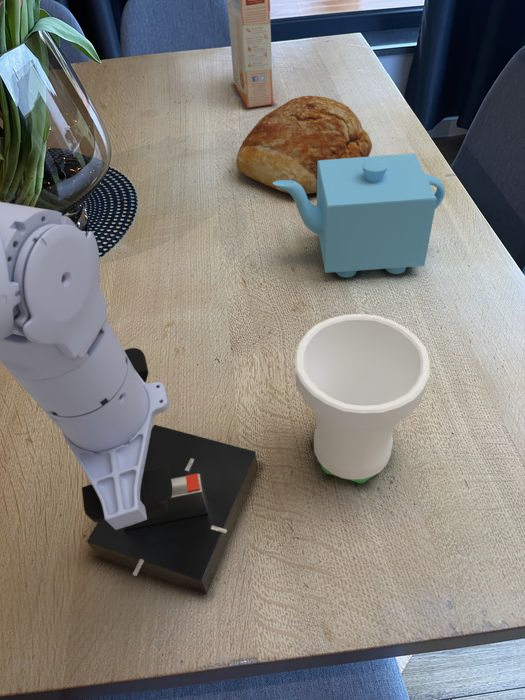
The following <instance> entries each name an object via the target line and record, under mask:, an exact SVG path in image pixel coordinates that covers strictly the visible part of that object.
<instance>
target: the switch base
mask: <svg viewBox="0 0 525 700" xmlns="http://www.w3.org/2000/svg"><path fill="white" fill-rule="evenodd" d="M165 464H168V467H169V472H170V476H171V479H173V478H178V477H184V476H187V475H192V474H200V475H201V479H202V483H203V487H204V490H205V494H206V499H207V507H208V514H203V515H198V516H193V517H188V518H183V519H178V520H173V521H168V522H163V523H158V524H153V525H148V526H144V527H139V528H134V529H129V530H124V529H123V528H120V529H117V530H115V529H114V528H113V527H112V526H111V525H110V524H109V523H108V522H107V521H106V520H104V521H100V522H96V523H95V524H96V525H95V526H94V528H93V530H92V532H91V533H90V535H89V537H88V538H87V540H86V543H87V544H88V546H89V548H90V549H91V550H92V552H93V553H94V555H95V556H96V557H98V558H102V559H104V560H107V561H109V562H112V563H116V564H119V565H121V566H125V567H127V568H130V569H133V570H134V571H133V572H132V576H134V577H137V576H138V575H139V572H142V573H145V574H148V575H150V576H152V577H155V578H158V579H162V580H164V581H167V582H170V583H173V584H176V585H179V586H181V587H184V588H188V589H190V590H193V591H195V592H199V593H202V594H205V595H207V594H208V592H209V590H210V588H211V585H212V583H213V580H214V577H215V575H216V572H217V570H218V566H219V564H220V562H221V560H222V558H223V555H224V552H225V550H226V547H227V546H228V543H229V540H230V537H231V535H232V532H233V530H234V528H235V525H236V523H237V520H238V518H239V515H240V513H241V511H242V509H243V508H242V507H243V505H244V503H245V500H246V498H247V495H248V493H249V490H250V489H251V488H250V487H251V486H252V483H253V481H254V478H255V475H256V473H257V471H258V460H257V451H255V450H250V449H248V448H245V447H244V448H243V447H240V446H236V445H232V444H228V443H225V442H222V441H218V440H214V439H211V438H207V437H202V436H199V435H195V434H191V433H187V432H184V431H181V430H176V429H172V428H168V427H165V426H161V425H157V424H153V425H152V430H151V435H150V440H149V445H148V450H147V456H146V461H145V466H144V471H146V470H149V469H152V468H155V467H158V466H162V465H165Z"/></svg>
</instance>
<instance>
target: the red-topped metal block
mask: <svg viewBox="0 0 525 700" xmlns="http://www.w3.org/2000/svg"><path fill="white" fill-rule="evenodd" d="M171 481H172V497H171V498H170V499H167V504H168V511H167V513H165V514H162V515H159V516H156V517H153V518H150V519H147V520H145V521H142V522H139V523H136V524H133V525H130V526H127V527H123V529H124V530H129V529H134V528H139V527H144V526H148V525H153V524H158V523H163V522H168V521H173V520H178V519H183V518H188V517H193V516H198V515H203V514H208V507H207V499H206V494H205V490H204V487H203V483H202V479H201V475H200V474H192V475H187V476H184V477H178V478H173V479H171Z"/></svg>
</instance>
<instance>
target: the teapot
mask: <svg viewBox="0 0 525 700" xmlns="http://www.w3.org/2000/svg"><path fill="white" fill-rule="evenodd" d="M273 184H274V185H275V186H277V187H280V188H282V189H285V190H286V191H287V192H289V193H288V194H290V196H291V197H292V198H293V201H294V204H295V205H296V208H297V211H298V214H299V216H300V219H301V221H302V223H303V224H304V226H305V227H306V228H307V229H308V231H311V232H312V233H314V234H316V235H317V236H318V240H319V247H320V251H321V257H322V262H323V268H324V273H325V274H327V273H336V275H338V276H339V277H340V278H351V277H354V276H355V275H356V274H357V272H358V271H368V270H369V271H370V270H384V269H385V270H386V272H388V273H390V274H392V275H393V274H394V275H399V274H403V273H405V271H406V269H407V268H412V267H414V268H415V267H424V266H425V264H426V258H427V254H428V249H429V243H430V238H431V232H432V227H433V221H434V217H435V212H436V209H438V207H439V206H440V205H441V203H442V202H443V200H444V198H445V193H446V188H445V186H444V183H443V181H441V179H440V178H439V177H437V176H436V175H433V174H430V173H429V174H428V173H426V174H425V171H424V169H423V167H422V165H421V163H420V160H419V158H418V156H417V154H416V153H402V154H388V155H387V154H386V155H371V156H368V157H357V158H344V159H331V160H320V161H318V162H317V193H316V205H315V204H313V203H311V201H310V200H309V198H308V194H306V193H305V191H304V189H303V187H302V186H301V185H300V184H298V183H297V182H295V181H291V180H279V181H275V182H273ZM432 186H433V187H434V188H436V190H435V192H434V190H433V188H432Z"/></svg>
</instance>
